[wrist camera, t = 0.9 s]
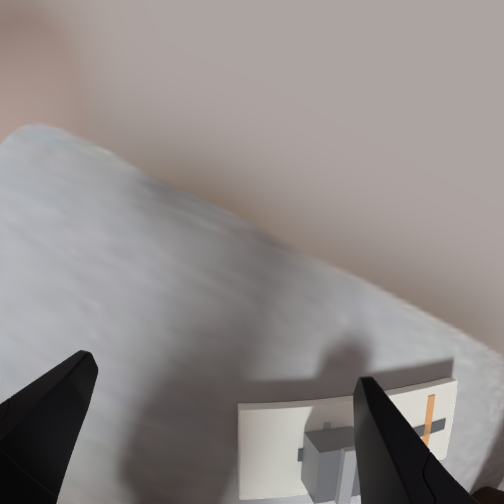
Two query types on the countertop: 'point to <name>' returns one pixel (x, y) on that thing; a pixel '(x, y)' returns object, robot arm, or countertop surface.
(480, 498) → the coffee mug
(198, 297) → the countertop surface
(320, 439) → the fader knob
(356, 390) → the robot arm
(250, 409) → the fader console
